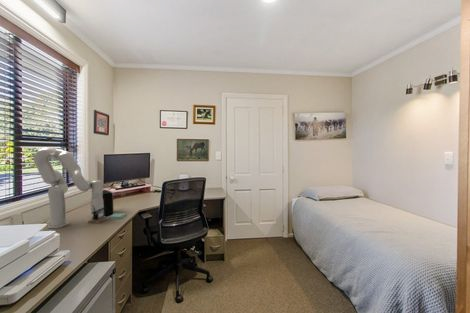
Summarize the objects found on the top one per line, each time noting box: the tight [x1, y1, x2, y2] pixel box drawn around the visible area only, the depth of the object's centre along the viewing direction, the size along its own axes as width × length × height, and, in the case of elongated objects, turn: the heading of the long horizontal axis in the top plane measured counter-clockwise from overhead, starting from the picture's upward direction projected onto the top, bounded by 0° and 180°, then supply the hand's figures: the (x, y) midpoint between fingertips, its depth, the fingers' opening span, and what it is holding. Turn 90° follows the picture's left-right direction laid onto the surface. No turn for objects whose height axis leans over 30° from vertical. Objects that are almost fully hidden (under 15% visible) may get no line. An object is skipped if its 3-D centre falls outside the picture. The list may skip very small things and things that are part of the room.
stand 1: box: [87, 216, 109, 224], centre depth 187 cm, size 10×10×2 cm
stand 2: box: [107, 212, 127, 220], centre depth 197 cm, size 10×10×2 cm
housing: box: [91, 209, 105, 220], centre depth 186 cm, size 7×5×7 cm
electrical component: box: [102, 189, 116, 217], centre depth 206 cm, size 18×10×20 cm, turn 47°
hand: (97, 217), depth 186 cm, fingers closed on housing, 5 cm apart
